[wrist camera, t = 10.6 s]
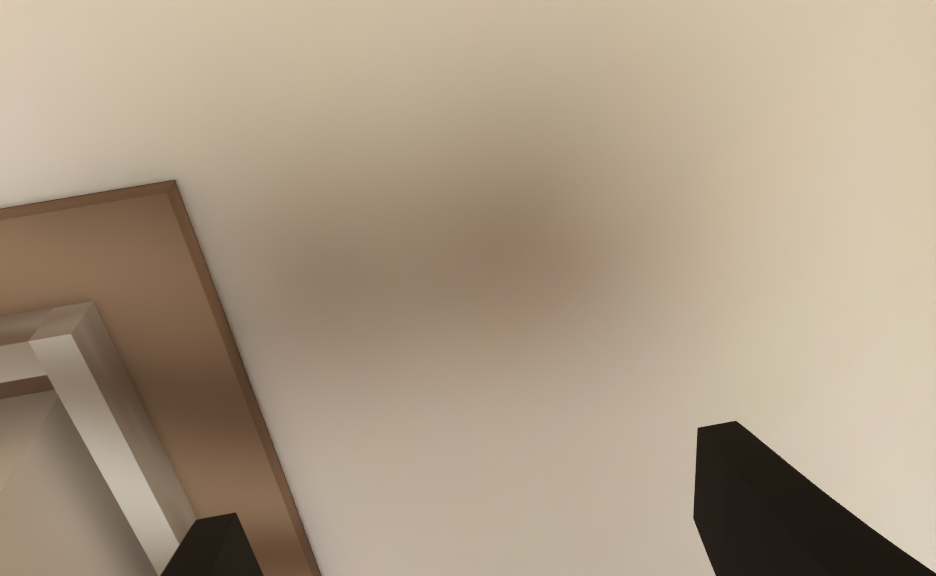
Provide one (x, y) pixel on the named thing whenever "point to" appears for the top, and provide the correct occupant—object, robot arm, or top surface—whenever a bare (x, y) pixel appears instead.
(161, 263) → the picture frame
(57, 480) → the cream rectangular block
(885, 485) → the top surface
